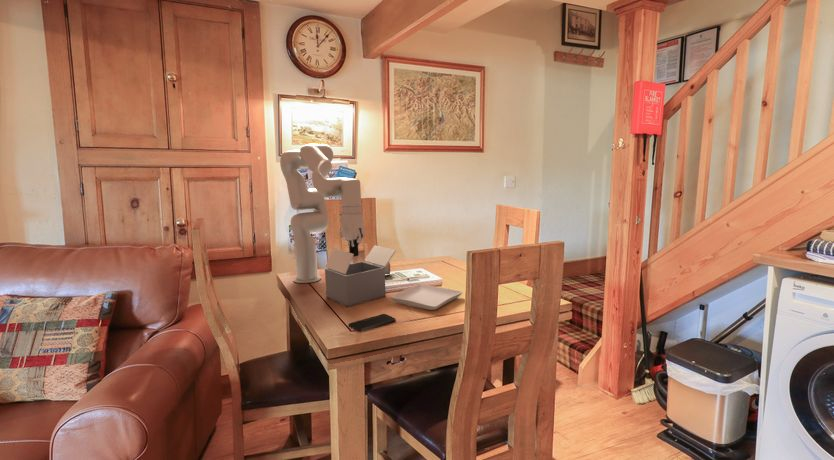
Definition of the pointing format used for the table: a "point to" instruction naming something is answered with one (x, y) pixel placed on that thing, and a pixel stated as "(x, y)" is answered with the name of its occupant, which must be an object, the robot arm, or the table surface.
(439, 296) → the salad plate
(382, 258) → the flap
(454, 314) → the table surface
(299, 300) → the table surface
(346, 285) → the carton
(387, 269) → the ceramic mug
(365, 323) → the phone
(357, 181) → the robot arm
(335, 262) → the flap
